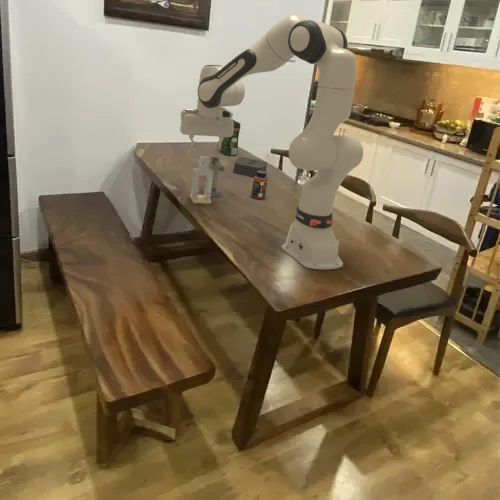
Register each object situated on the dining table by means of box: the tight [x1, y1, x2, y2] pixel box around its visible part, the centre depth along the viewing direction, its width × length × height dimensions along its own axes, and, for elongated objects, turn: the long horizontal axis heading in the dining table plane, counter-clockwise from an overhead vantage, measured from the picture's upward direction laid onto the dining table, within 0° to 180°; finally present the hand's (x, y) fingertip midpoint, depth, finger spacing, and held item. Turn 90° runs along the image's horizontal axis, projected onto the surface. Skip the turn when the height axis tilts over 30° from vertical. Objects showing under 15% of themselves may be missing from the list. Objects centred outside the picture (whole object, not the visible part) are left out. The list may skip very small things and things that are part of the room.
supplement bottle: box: [251, 171, 269, 200], centre depth 207 cm, size 6×6×11 cm
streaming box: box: [233, 156, 268, 178], centre depth 241 cm, size 14×14×5 cm
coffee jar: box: [220, 118, 241, 157], centre depth 264 cm, size 10×8×19 cm
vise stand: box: [200, 154, 225, 198], centre depth 199 cm, size 15×7×16 cm, turn 19°
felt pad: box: [189, 194, 212, 204], centre depth 196 cm, size 8×7×1 cm
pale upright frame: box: [190, 155, 213, 201], centre depth 193 cm, size 3×7×17 cm, turn 109°
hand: (205, 147), depth 187 cm, fingers open, 8 cm apart
